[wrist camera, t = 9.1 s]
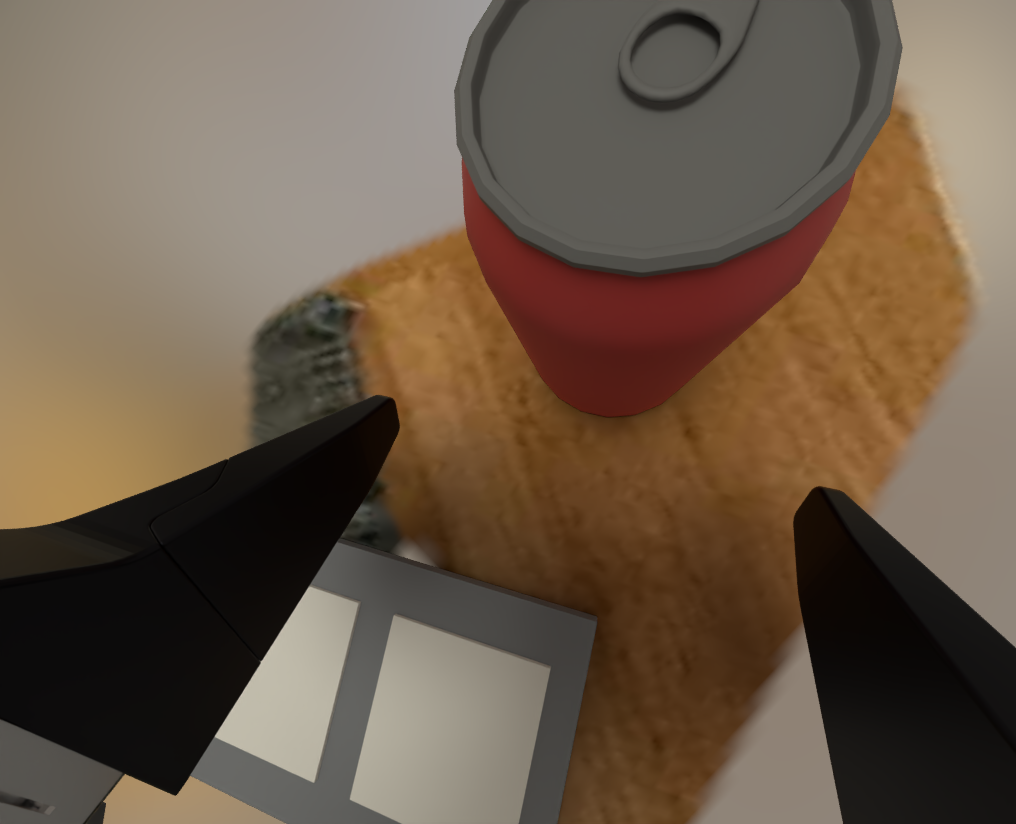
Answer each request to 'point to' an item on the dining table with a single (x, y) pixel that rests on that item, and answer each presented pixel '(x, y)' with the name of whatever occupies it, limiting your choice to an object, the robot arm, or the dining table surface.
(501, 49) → the beer can
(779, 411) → the dining table surface
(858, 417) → the dining table surface
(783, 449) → the dining table surface
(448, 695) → the label board
